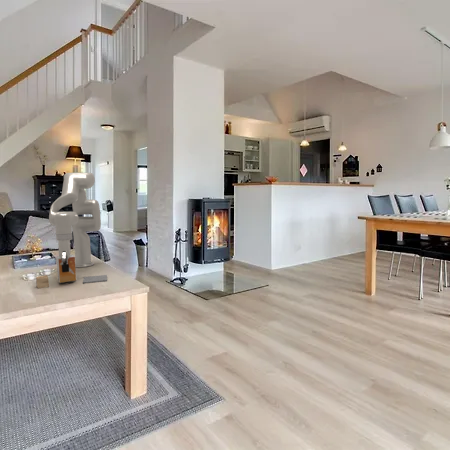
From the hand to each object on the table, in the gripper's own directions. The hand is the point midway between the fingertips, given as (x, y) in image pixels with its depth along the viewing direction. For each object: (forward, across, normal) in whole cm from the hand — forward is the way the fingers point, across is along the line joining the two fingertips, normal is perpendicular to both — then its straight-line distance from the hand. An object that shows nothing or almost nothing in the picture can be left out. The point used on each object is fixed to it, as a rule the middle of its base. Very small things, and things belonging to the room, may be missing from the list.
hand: (66, 269), depth 182 cm
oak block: (+7, +4, -11) cm, 14 cm away
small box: (+6, 0, 0) cm, 6 cm away
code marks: (+7, +1, 0) cm, 7 cm away
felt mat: (+7, 0, +14) cm, 15 cm away
